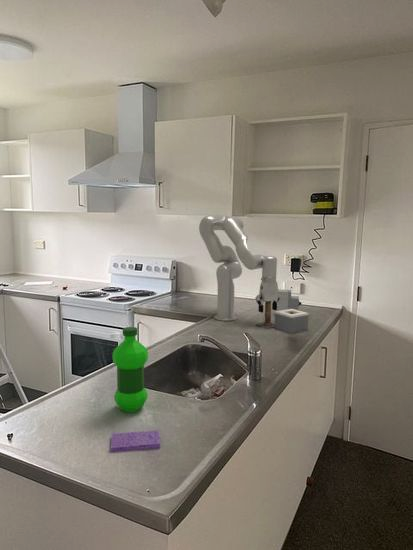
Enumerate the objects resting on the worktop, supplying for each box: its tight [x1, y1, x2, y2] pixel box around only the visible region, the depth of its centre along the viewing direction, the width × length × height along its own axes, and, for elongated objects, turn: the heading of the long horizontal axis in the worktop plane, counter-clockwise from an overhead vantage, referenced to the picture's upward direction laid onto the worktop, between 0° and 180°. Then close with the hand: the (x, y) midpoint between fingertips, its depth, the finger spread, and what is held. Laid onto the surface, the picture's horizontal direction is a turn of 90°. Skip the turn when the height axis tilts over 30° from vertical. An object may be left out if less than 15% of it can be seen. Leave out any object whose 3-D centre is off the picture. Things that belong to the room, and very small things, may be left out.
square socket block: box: [274, 309, 309, 334], centre depth 218 cm, size 12×12×9 cm
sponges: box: [110, 429, 161, 453], centre depth 109 cm, size 7×13×2 cm, turn 100°
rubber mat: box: [255, 322, 275, 330], centre depth 225 cm, size 9×9×1 cm
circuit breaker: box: [275, 288, 302, 311], centre depth 247 cm, size 8×14×15 cm, turn 78°
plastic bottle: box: [111, 326, 149, 413], centre depth 126 cm, size 10×10×25 cm
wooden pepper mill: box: [263, 301, 273, 326], centre depth 224 cm, size 4×4×14 cm
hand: (267, 311), depth 224 cm, fingers open, 9 cm apart
